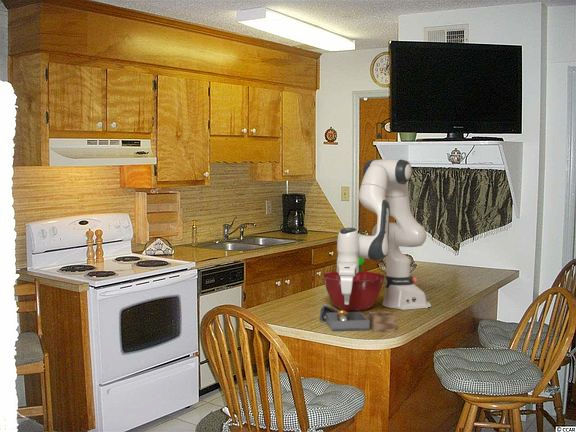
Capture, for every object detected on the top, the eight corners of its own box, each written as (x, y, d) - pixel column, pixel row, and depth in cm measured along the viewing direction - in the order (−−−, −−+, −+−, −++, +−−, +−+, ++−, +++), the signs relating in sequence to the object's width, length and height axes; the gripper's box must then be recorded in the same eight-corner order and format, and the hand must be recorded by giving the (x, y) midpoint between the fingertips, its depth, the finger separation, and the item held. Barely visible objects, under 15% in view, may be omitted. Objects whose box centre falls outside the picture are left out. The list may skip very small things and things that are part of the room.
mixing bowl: (312, 304, 299) (312, 271, 298) (366, 299, 309) (366, 268, 308) (338, 317, 273) (338, 282, 271) (395, 312, 283) (396, 278, 281)
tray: (360, 321, 266) (360, 311, 266) (369, 330, 251) (369, 320, 251) (325, 322, 264) (325, 312, 264) (332, 331, 250) (332, 321, 249)
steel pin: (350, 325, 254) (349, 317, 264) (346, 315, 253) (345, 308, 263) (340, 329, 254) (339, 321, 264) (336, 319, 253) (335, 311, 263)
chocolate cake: (344, 318, 274) (324, 299, 274) (349, 317, 267) (328, 297, 267) (330, 334, 271) (310, 315, 271) (334, 334, 264) (314, 314, 264)
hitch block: (389, 325, 259) (389, 311, 258) (396, 331, 250) (396, 316, 249) (368, 326, 258) (368, 312, 257) (373, 332, 249) (374, 317, 248)
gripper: (341, 263, 267) (340, 296, 268) (338, 272, 247) (338, 306, 248) (356, 264, 266) (355, 296, 267) (354, 272, 246) (354, 307, 247)
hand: (347, 301), depth 257 cm, fingers open, 8 cm apart
